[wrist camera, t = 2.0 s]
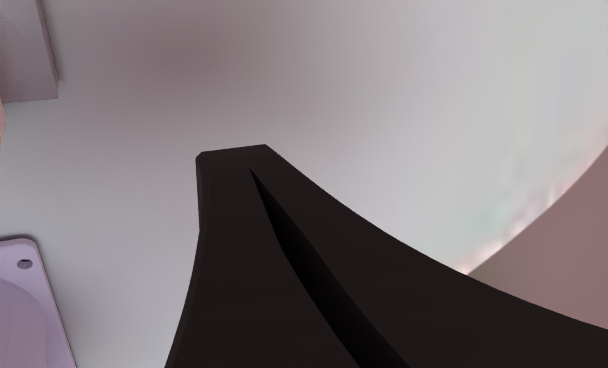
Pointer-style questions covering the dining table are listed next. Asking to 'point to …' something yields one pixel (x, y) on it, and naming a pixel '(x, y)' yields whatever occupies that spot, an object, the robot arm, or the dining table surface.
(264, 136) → the dining table surface
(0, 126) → the block
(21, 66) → the panel
